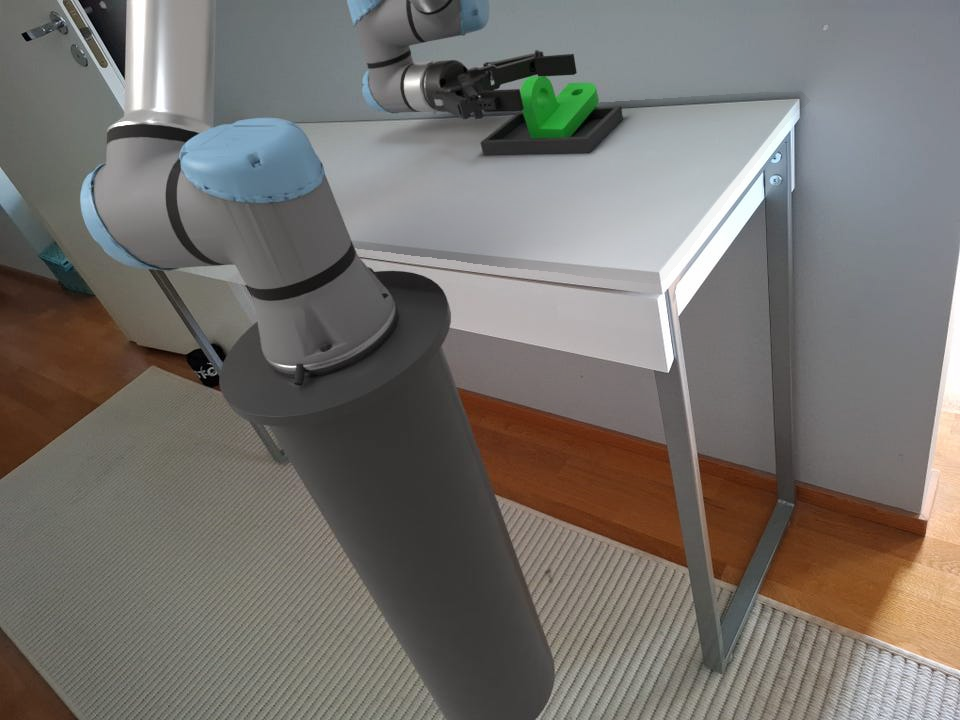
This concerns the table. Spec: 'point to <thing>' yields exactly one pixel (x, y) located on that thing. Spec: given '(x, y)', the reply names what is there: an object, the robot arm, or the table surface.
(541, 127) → the mechanical part
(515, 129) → the parts tray
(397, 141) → the table surface
